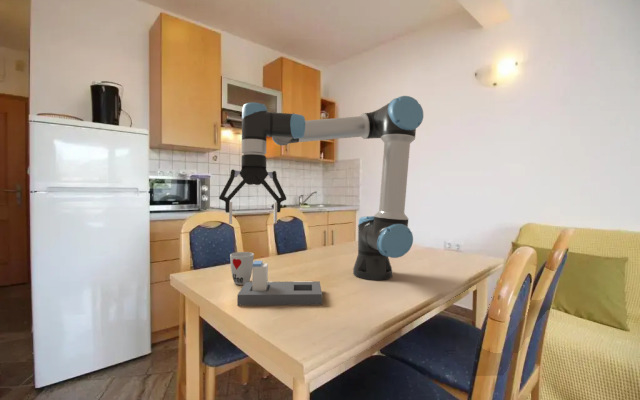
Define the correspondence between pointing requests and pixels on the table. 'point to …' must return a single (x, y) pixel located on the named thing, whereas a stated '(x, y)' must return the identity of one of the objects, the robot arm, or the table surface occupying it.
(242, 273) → the cup
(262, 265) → the plug
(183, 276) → the table surface
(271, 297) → the panel
